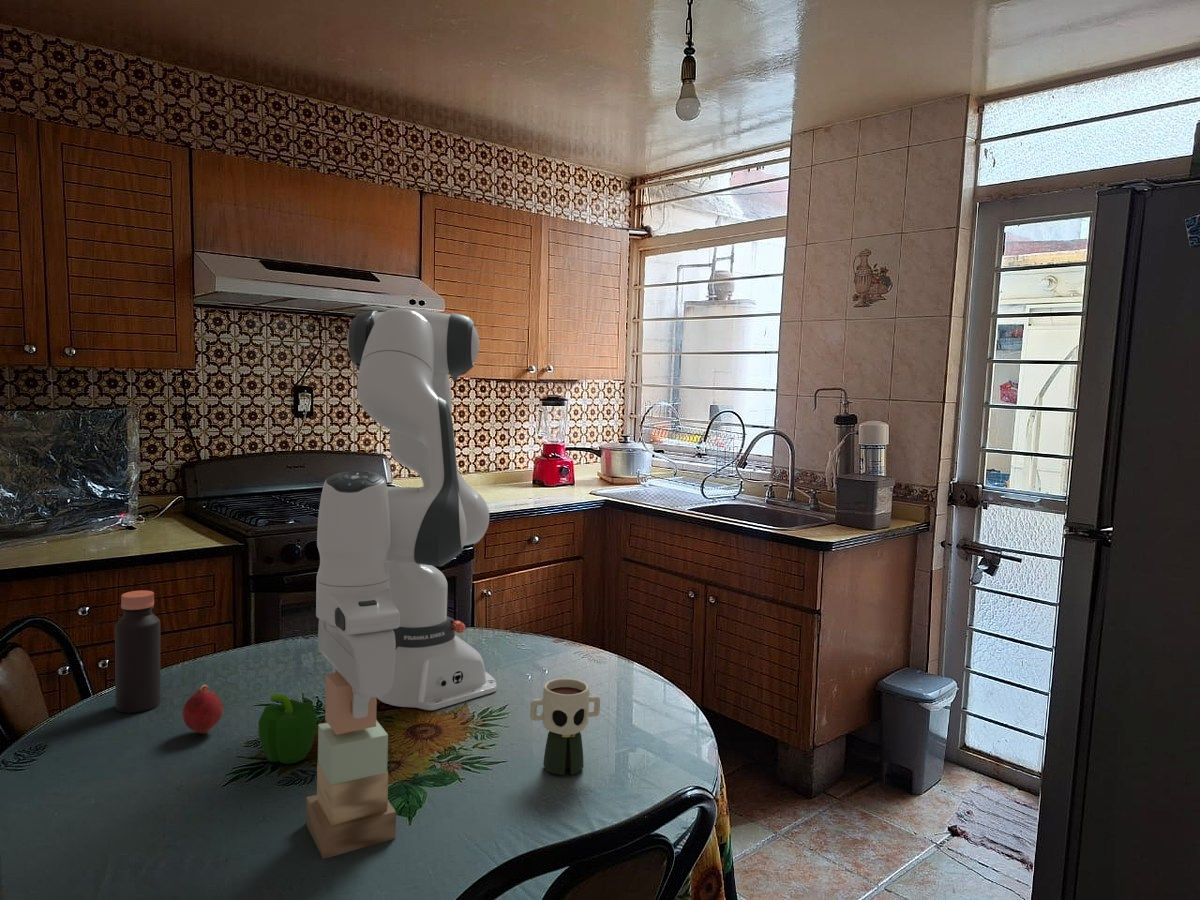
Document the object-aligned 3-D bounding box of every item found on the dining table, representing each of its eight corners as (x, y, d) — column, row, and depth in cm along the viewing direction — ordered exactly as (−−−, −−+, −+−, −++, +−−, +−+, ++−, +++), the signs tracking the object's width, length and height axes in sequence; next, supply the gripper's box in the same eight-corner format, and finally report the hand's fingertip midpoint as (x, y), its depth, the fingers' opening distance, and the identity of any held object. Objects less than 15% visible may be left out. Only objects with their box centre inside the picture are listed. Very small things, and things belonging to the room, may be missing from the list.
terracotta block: (364, 712, 104) (364, 668, 104) (376, 726, 100) (377, 680, 100) (325, 719, 101) (325, 674, 101) (336, 734, 97) (336, 687, 97)
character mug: (532, 783, 116) (535, 697, 115) (524, 760, 123) (527, 679, 122) (603, 776, 119) (606, 693, 118) (592, 755, 126) (595, 675, 125)
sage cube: (371, 750, 106) (372, 714, 106) (387, 772, 100) (388, 734, 100) (317, 761, 102) (318, 724, 102) (330, 785, 97) (331, 746, 96)
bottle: (106, 709, 136) (105, 595, 134) (142, 695, 142) (141, 587, 141) (134, 716, 133) (133, 601, 132) (169, 702, 140) (169, 592, 138)
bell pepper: (327, 749, 124) (328, 687, 124) (297, 773, 116) (298, 707, 116) (280, 742, 126) (280, 681, 125) (247, 765, 118) (247, 700, 117)
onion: (206, 743, 125) (206, 694, 124) (174, 738, 126) (174, 690, 125) (230, 728, 130) (230, 681, 130) (199, 724, 132) (199, 677, 131)
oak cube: (370, 786, 106) (370, 750, 106) (387, 810, 101) (388, 772, 100) (316, 799, 103) (317, 762, 102) (331, 825, 97) (332, 786, 96)
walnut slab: (374, 808, 108) (374, 780, 108) (395, 841, 101) (396, 811, 100) (306, 826, 103) (306, 797, 103) (323, 862, 96) (323, 830, 96)
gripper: (306, 584, 106) (305, 684, 107) (351, 625, 89) (349, 743, 91) (353, 579, 110) (352, 676, 111) (405, 618, 93) (403, 731, 94)
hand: (351, 706), depth 101 cm, fingers closed on terracotta block, 5 cm apart
